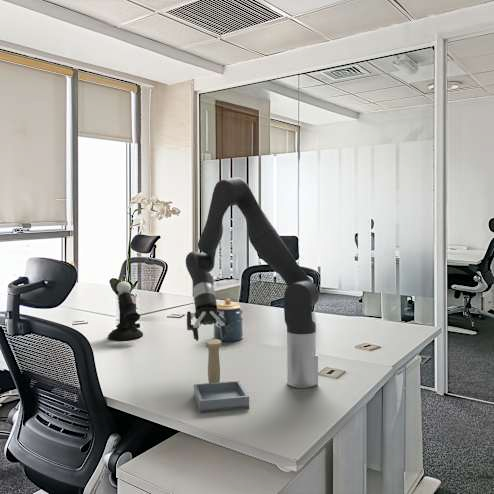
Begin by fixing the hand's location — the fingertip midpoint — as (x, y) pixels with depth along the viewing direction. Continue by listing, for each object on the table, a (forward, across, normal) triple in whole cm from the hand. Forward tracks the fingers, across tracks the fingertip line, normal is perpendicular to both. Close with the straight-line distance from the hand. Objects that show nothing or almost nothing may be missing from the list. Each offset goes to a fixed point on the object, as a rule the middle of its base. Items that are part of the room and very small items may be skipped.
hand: (210, 338), depth 167 cm
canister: (-28, +16, +48) cm, 58 cm away
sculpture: (-36, -27, +56) cm, 72 cm away
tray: (+23, 0, -4) cm, 24 cm away
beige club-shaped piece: (+15, 0, +5) cm, 16 cm away
